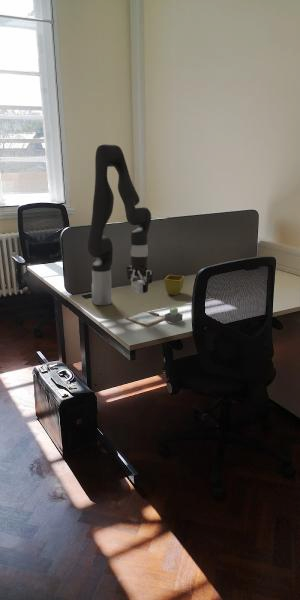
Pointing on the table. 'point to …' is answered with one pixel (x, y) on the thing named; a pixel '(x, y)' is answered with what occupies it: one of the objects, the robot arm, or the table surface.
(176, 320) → the button housing
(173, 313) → the button
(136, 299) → the table surface
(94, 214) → the robot arm
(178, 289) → the flower pot
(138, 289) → the small box
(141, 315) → the picture frame
